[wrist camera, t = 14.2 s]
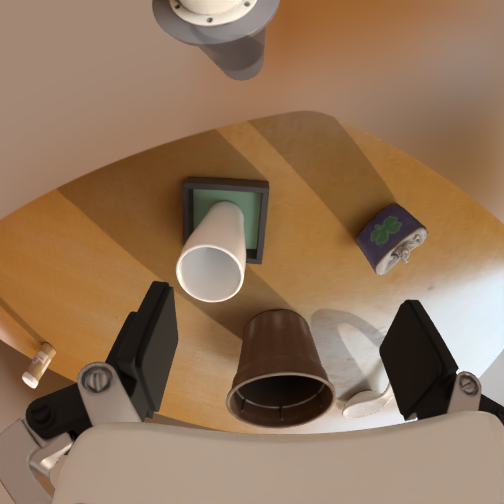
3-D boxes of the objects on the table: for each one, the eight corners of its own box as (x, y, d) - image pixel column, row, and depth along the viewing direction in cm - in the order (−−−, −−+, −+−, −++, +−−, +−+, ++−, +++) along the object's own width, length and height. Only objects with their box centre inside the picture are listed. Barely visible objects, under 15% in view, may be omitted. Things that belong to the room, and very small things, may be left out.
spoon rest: (370, 407, 66) (376, 428, 59) (333, 409, 65) (337, 431, 59) (412, 352, 55) (423, 375, 48) (371, 352, 54) (380, 378, 48)
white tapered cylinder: (204, 239, 42) (180, 302, 29) (200, 195, 39) (169, 244, 25) (250, 239, 42) (245, 304, 28) (249, 194, 38) (243, 243, 25)
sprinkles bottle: (48, 341, 58) (26, 377, 46) (58, 353, 60) (38, 389, 48) (40, 342, 58) (18, 376, 47) (50, 354, 60) (30, 388, 49)
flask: (361, 248, 42) (385, 287, 33) (350, 236, 42) (374, 273, 32) (403, 211, 39) (438, 241, 30) (394, 197, 38) (429, 225, 29)
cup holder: (188, 176, 38) (182, 182, 35) (268, 181, 38) (269, 187, 35) (189, 247, 43) (184, 258, 40) (261, 252, 43) (261, 264, 40)
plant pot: (261, 283, 46) (261, 360, 32) (338, 318, 49) (358, 389, 35) (219, 343, 53) (209, 413, 39) (289, 368, 56) (294, 434, 42)
